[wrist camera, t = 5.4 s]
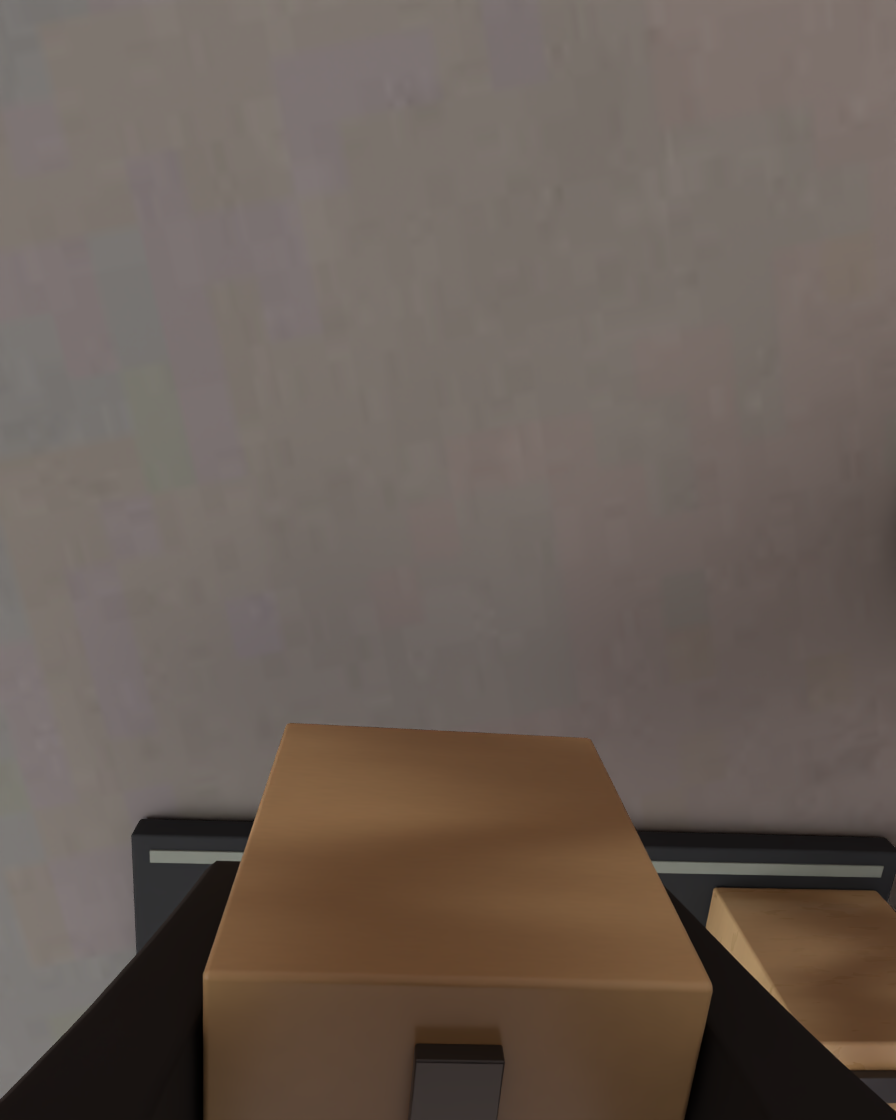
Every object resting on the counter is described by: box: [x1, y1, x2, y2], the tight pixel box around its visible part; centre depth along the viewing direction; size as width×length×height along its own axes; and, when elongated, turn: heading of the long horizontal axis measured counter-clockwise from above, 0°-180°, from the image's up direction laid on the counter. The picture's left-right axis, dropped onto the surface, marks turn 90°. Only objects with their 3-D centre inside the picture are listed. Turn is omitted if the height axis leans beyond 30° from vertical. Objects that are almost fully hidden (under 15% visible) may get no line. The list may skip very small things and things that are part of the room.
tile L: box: [706, 887, 896, 1111], centre depth 15 cm, size 4×4×4 cm
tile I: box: [203, 723, 713, 1120], centre depth 8 cm, size 4×4×4 cm
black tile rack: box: [131, 819, 896, 953], centre depth 17 cm, size 17×6×1 cm, turn 86°
